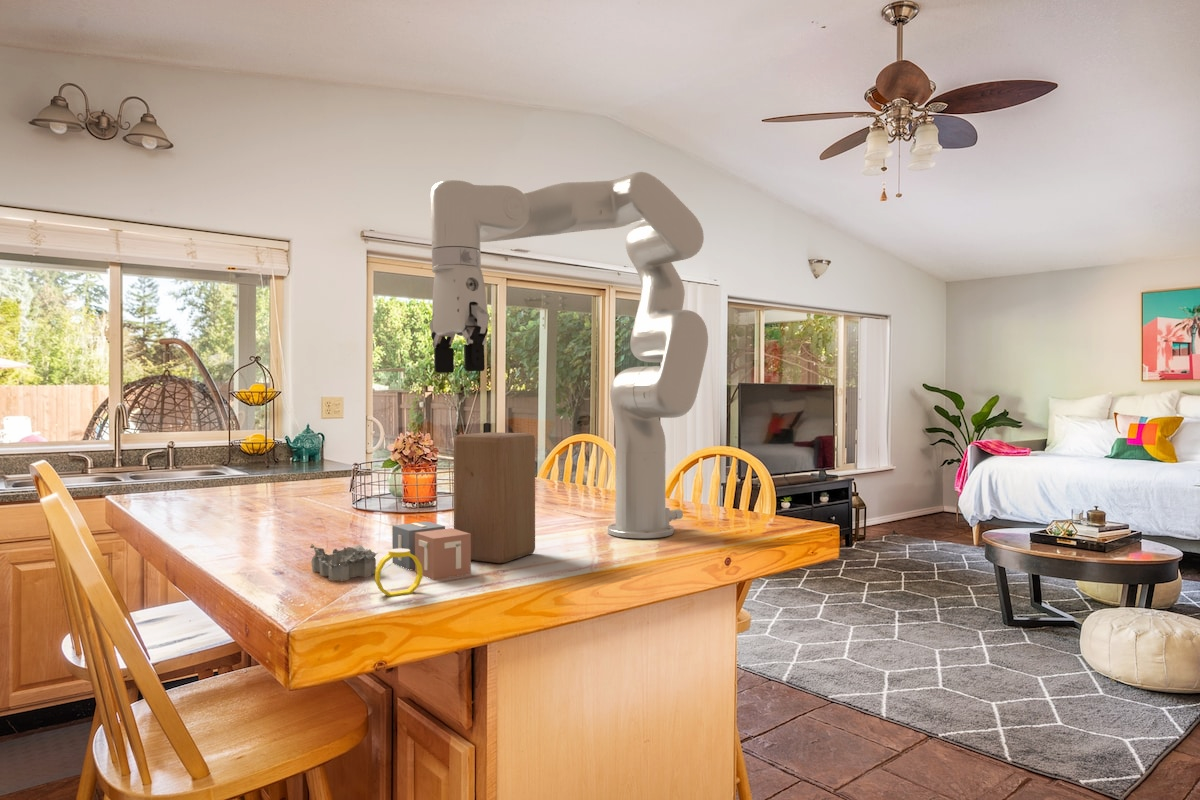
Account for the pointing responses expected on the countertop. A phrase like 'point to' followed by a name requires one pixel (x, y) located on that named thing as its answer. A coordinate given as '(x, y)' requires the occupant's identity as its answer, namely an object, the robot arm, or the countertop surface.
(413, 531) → the slate cube one
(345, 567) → the egg carton
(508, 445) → the wooden block
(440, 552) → the terracotta cube seven
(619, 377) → the robot arm
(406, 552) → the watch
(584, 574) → the countertop surface
